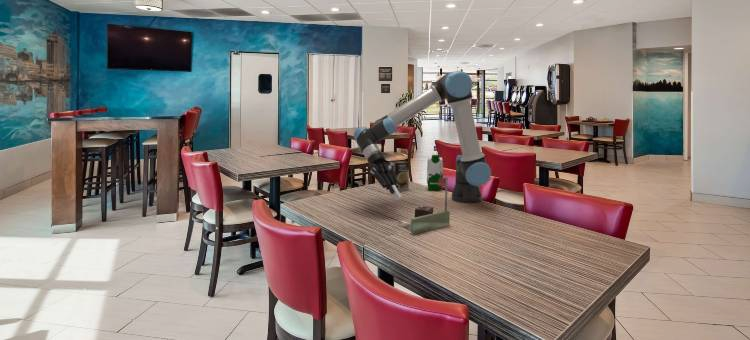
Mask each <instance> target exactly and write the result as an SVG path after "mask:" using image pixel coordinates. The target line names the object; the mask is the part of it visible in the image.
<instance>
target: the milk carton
mask: <svg viewBox="0 0 750 340" xmlns="http://www.w3.org/2000/svg"><path fill="white" fill-rule="evenodd" d="M426 164H427V165H426V184H427V185H426V186H427V190H428V191H429V192H441V191H442V187H443V185H442V186H438V179H441V178H444V177H443V174H444V160H443V157H440V155H439V154H432V155H431V157H427V163H426Z"/></svg>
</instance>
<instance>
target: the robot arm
mask: <svg viewBox="0 0 750 340" xmlns="http://www.w3.org/2000/svg"><path fill="white" fill-rule="evenodd" d="M472 89H473V79H472V77H471V76H470V75H469V74H468V73H466V72H465V71H462V70H455V71H451V72H447V73H445V74H444V75H443V76H442V77H440V78H438V79H437V80H436V81H435V82H433V83H432V84H430V85H429V87H428V88H427V89H426V90H424V91H422V92H421V93H420V94H418V95H415V97H413V98H411V99H409V100H407V102H405V103H403V104H402V105H400V106H398V107H396V109H394V110H392V111H391V112H389V113H388V114H386V115H385V116H381V118H379V119H377V120H375V121H374V123H373V125H372V126H371V127H369V128H367V126H361V127H358V128H357V129H355V131H354V132H353V138H354V140H355V143H356V144H357V146H358V147H359V149H360V151H361V153H362V154H363V155H364V157H365V159H366V161H367V163H368V165H369V166H370V168H371V169H370V171H369V174H370V175H371V176H373V177H374V179H376V181H377V183H379V184H380V185H381V187H382V188H383V189H385V190H388V191H389V193H390V194H391V195H392V196H393V198H394V199H395V201H396V202H399V201H400V200H401V199H402V194H401V193H400V191H399V190H398V188H397V186H396V185H397V184H398V180H397V177H396V174H395V171H394V166H393V165H392V166H390V164H388V163H387V162H386V157H385V156H384V154H383V152H382V151H381V149H380V148H379V145H378V144H377V143H378V142H380V141H382V140H383V139H385V138H387V137H388V136H390V135H393V134H394V133H395V132H396V131H397V130H398V128H397V127H399V126H400V125H402V124H404V123H405V122H407V121H408V120H410V119H411V118H413V117H415V116H416V115H418V114H420V113H421V112H423V111H424V110H427V109H428V108H429V107H432V106H433V105H434V104H436V103H438V102H440V103H441V102H443V101H445V100H446V101H447V105H449V106H450V107H451V110H452V115H453V118H454V123H455V128H456V132H457V136H458V141H459V144H460V150H461V155H460V154H459V155H457V156H456V160H455V185H454V188H453V190H452V193H451V200H453V201H454V202H458V203H466V202H473V203H478V202H477V201H479V202H481V201H482V200H483V199H482V198H483V197H482V196H483V195H482V191H481V186H483V185H486V184H487V183H488V182H489V181H490V179H491V177H492V170H491V168H490V166H489V164H488V163H487V158H486V155H485V153H483V152H482V151H481V146H480V142H479V137H478V133H477V128H476V123H475V118H474V113H473V109H472V104H471V101H472V100H473V92H472Z"/></svg>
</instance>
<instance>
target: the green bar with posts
mask: <svg viewBox="0 0 750 340" xmlns="http://www.w3.org/2000/svg"><path fill="white" fill-rule="evenodd" d="M448 180H449V177H447V176H446V177H443V178H441V179H438V186H442V187H443V186H445V190H444V191H445V192H444V195H445V196H444V197H445V198H444V199H445V200H444V210H441V211H437V212H433V214H428V215H424V216H420V217H416V218H415V217H413V218H412V217H411V218H410V222H407V221H405V220H398V226H399V227H402V228H405V229H408V230H410V234H411V235H417V234H422V233H425V232H429V231H433V230H436V229H440V228H444V227H447V226H450V222H451V221H450V220H451V219H450V218H451V217H450V215H451V213H450V212H451V211H450V210H448V186H449V185H448V183H449V181H448Z"/></svg>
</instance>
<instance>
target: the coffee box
mask: <svg viewBox="0 0 750 340" xmlns="http://www.w3.org/2000/svg"><path fill="white" fill-rule="evenodd" d="M392 165H393V166H394V171H395V174H396V177H397V180H398V184H397V185H396V186H397V188H398V190H399V192H404V191H405V192H406V191H409V189H410V187H409V184H410V183H409V181H410V180H409V179H410V162H409V161H405V160H399V161H390V162H389V166H392Z"/></svg>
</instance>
